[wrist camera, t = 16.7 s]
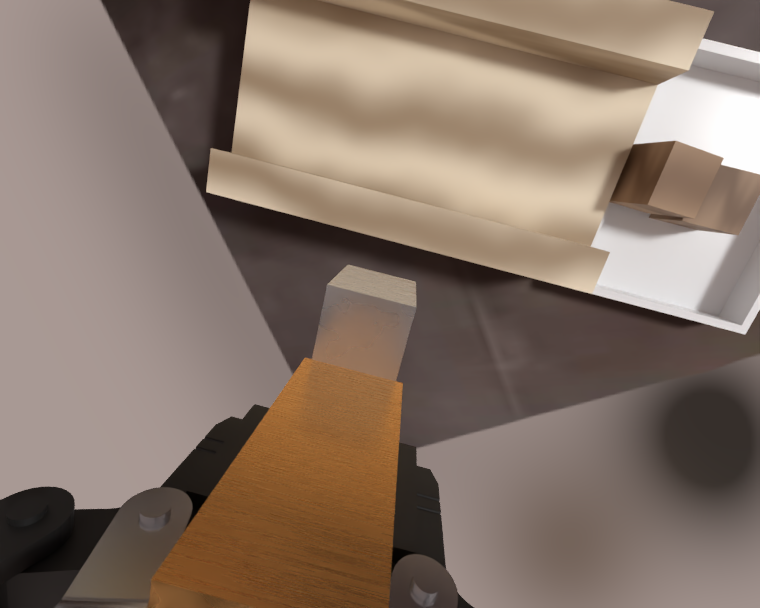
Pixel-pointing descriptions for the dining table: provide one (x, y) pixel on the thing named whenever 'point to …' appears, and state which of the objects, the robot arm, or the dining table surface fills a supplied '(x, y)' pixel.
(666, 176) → the brown wooden cube
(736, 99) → the tray
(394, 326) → the scraper
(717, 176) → the brown cube
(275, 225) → the dining table surface
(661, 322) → the dining table surface
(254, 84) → the channel board
